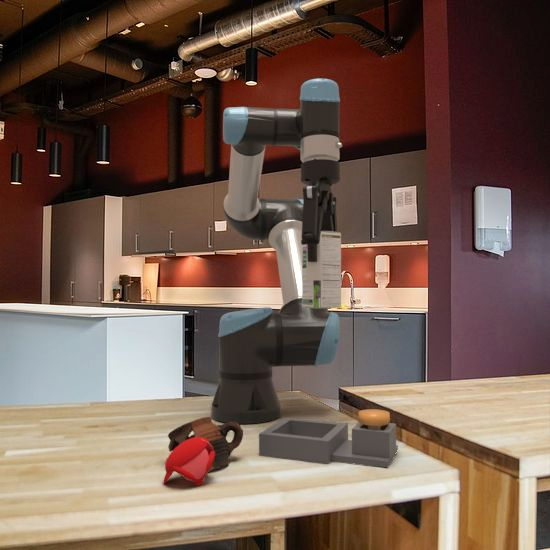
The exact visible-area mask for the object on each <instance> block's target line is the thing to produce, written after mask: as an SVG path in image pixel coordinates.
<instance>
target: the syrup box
mask: <svg viewBox="0 0 550 550" xmlns="http://www.w3.org/2000/svg"><path fill="white" fill-rule="evenodd" d="M307 245H308V244H307ZM317 245H322V280H307V277H306V245H302V308H328V309H335V308H339V309H340V308H341V307H342V232H338V231H337V232H333V231H321V234H320V242H319V244H317Z"/></svg>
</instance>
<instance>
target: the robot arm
mask: <svg viewBox="0 0 550 550" xmlns="http://www.w3.org/2000/svg"><path fill="white" fill-rule="evenodd" d="M299 95H300V96H299V100H300V101H299V103H300V104H299V105H300V106H299V109H298V108H297V109H295V108H269V107H268V108H267V107H253V106H252V107H247V106H236V107H234V106H233V107H226V108H225V109H224V110H223V113H222V114H223V115H222V141H223V143H224V144H226V145H230V158H229V176H228V189H227V190H228V191H227V194H226V196H225V197H224V200H223V207H222V208H223V214H224V217H225V221H226V222H227V224H228V225H229V227H231V229H232V230H234V232H235V233H237V234H238V235H240V236H241V237H243V238H246V239H248V240H251V241H268V243H269V245H270V246H271V248H272V249H273V250H274V251H275V252H276V253H275V255H276V260H277V266H278V267H277V268H278V275H279V282H280V290H281V297H282V303H283V305H282V306H281V307H280V309H279V311H278V313H274V310H273V309H272V307H266V306H265V307H256V308H248V309H243V310H235V311H230V312H227V313H225V314H222V315H221V316H220V320H219V326H218V327H219V329H218V331H219V333H218V334H217V337H218V338H219V347H218V348H219V350H218V351H219V352H218V353H219V357H218V358H219V359H218V361H219V363H218V364H219V365H218V366H219V367H218V371H219V373H218V374H219V375H218V384H217V388H216V391H215V394H214V397H213V400H212V403H211V407H210V410H211V412H210V418H211V419H213V420H215V421H217V422H221V423H222V422H223V423H227V422H236V423H238V424H239V425H240V424H245V425H246V424H247V425H248V424H258V423H267V422H271V421H274V420H277V419H279V418H280V417H281V414H282V413H281V411H282V410H281V409H282V408H281V403H280V399H279V397H278V393H277V390H276V388H275V387H276V386H275V384H274V380H273V368H274V367H307V366H308V367H309V366H310V367H313V366H314V367H318V366H328V365H332V364H333V363H334V362H335V361H336V358H337V356H338V352H339V344H340V336H341V335H340V333H341V331H340V330H341V329H340V328H341V325H340V323H341V321H340V316H339V315H338V314H337V312H333V311H330V312H329V310H328V309H329V308H302V245H306V277H307V280H322V245H317V244H319V242H320V234H321V231H333V232H338V220H337V197H336V196H334V194H333V192H332V188H331V186H333V185H335V184H338V183H339V182H340V181H341V164H340V163H339V160H340V148H342V147H343V144H342V142H340V102H341V98H340V89H339V85H338V83H337V82H336V81H334V80H332V79H328V78H322V77H321V78H313V79H309V80H307V81H304V82H303V83H302V85H301V87H300V94H299ZM266 146H274V147H275V146H276V147H277V146H282V147H294V148H295V149H297V150H299V151H300V161H301V162H302V163H301V164H300V181H301V183H302V184H304V185H305V186H303V187H302V196H303V198H302V199H301V198H300V199H299V198H259V197H258V196H259V189H260V185H261V184H260V183H261V177H262V172H263V164H264V160H265V159H264V158H265V151H266ZM306 185H307V186H306ZM307 244H308V245H307Z"/></svg>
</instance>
